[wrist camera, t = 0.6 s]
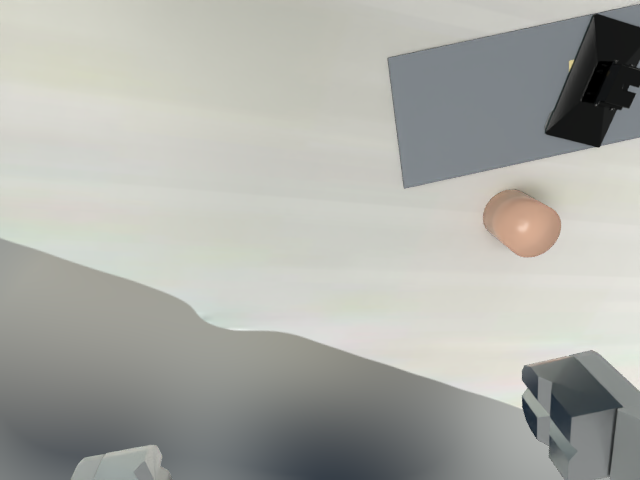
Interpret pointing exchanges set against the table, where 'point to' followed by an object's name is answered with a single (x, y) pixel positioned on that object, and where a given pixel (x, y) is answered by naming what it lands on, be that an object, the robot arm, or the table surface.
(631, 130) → the mat
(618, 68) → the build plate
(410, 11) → the table surface
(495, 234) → the peach rounded cylinder
